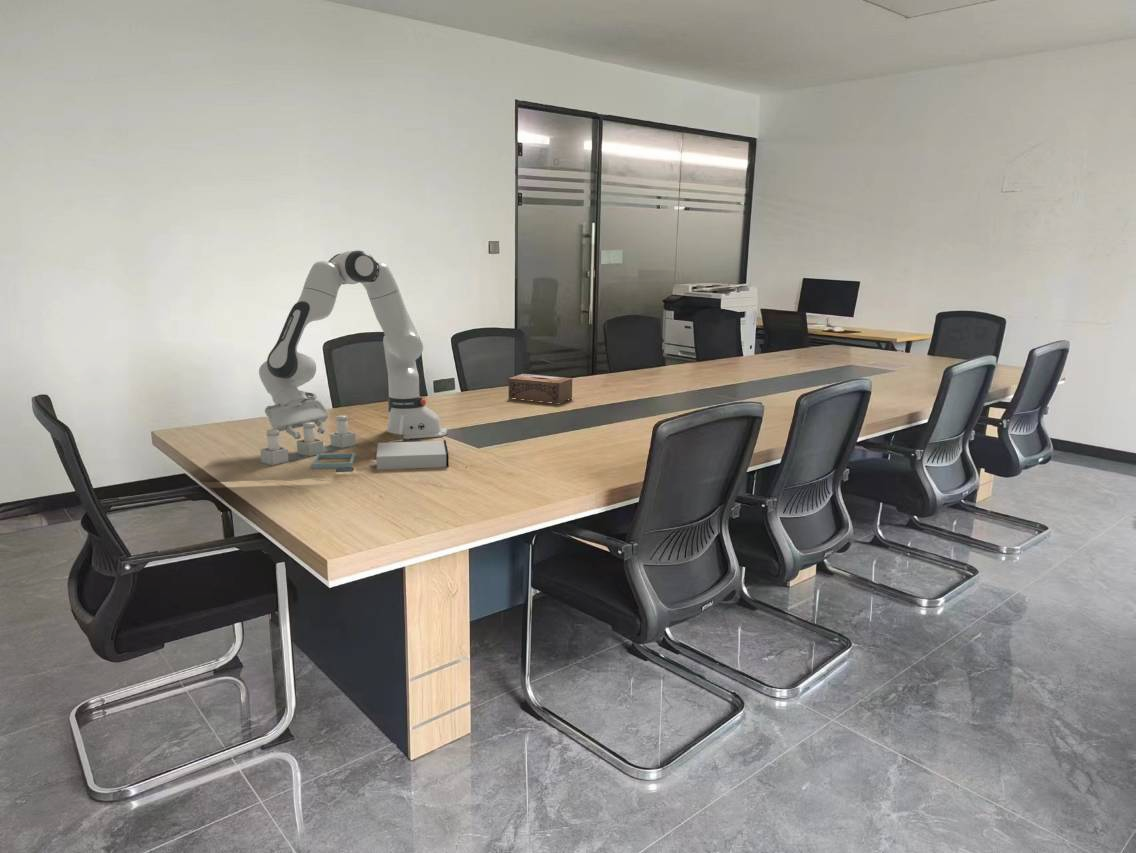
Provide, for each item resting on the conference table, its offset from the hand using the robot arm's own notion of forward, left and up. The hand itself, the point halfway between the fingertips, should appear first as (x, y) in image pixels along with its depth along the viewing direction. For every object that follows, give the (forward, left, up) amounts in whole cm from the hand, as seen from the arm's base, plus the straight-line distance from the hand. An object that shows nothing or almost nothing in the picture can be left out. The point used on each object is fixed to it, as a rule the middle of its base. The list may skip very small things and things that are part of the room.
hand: (310, 435), depth 256 cm
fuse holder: (0, 0, -7) cm, 7 cm away
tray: (-9, +13, -7) cm, 17 cm away
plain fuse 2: (-9, -10, -6) cm, 15 cm away
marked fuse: (0, 0, -6) cm, 6 cm away
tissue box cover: (-90, -92, -8) cm, 129 cm away
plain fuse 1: (+10, +9, -6) cm, 15 cm away
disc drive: (-33, +8, -8) cm, 35 cm away
